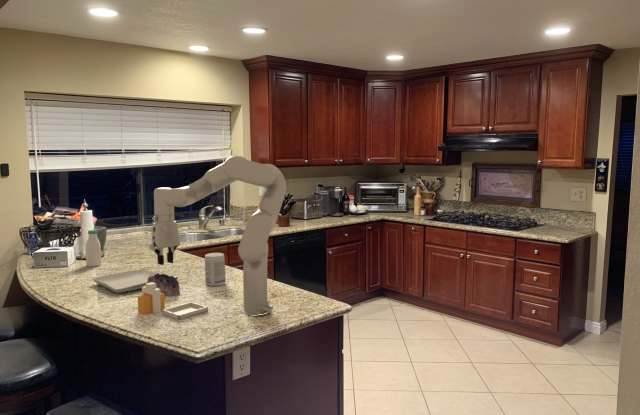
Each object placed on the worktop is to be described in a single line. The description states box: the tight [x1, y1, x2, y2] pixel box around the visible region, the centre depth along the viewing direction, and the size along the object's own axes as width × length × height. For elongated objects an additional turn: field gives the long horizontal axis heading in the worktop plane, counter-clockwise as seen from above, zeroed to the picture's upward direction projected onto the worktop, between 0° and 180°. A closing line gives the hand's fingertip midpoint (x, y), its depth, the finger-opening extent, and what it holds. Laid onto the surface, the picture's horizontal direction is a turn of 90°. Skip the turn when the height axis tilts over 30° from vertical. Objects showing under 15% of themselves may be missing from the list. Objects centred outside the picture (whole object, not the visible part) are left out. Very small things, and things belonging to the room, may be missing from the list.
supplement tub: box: [204, 252, 226, 287], centre depth 238 cm, size 10×10×15 cm
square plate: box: [91, 268, 157, 294], centre depth 237 cm, size 27×27×4 cm
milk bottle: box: [85, 229, 102, 268], centre depth 275 cm, size 8×8×20 cm
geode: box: [147, 272, 181, 297], centre depth 222 cm, size 20×12×10 cm, turn 48°
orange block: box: [137, 292, 166, 316], centre depth 194 cm, size 4×9×6 cm, turn 141°
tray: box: [161, 301, 209, 321], centre depth 192 cm, size 11×14×2 cm
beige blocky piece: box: [141, 282, 162, 315], centre depth 194 cm, size 8×3×11 cm, turn 51°
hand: (165, 263), depth 198 cm, fingers open, 3 cm apart
